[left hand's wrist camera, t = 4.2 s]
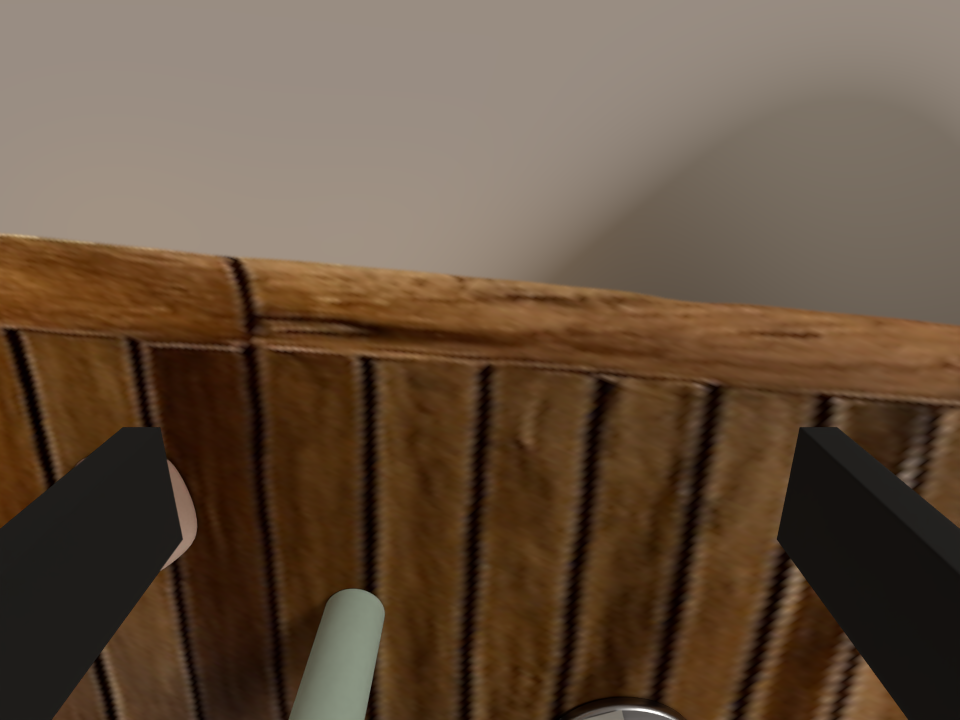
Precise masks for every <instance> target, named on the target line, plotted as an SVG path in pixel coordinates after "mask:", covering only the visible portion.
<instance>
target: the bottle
mask: <svg viewBox="0 0 960 720" xmlns="http://www.w3.org/2000/svg"><path fill="white" fill-rule="evenodd" d="M384 617H385V611H384V607H383V605H382V603H381V602H380V600H379V599H378V598H377V597H376V596H374V595H373V594H371V593H369V592H367V591H364V590H360V589H346V590H342V591H339V592H337V593H336V594H334V595H333V596H332V597H331V598H330V599H329V600H328V602H327V604H326V607H325V610H324V613H323V616H322V619H321V622H320V625H319V628H318V631H317V634H316V637H315V641H314V644H313V647H312V650H311V653H310V656H309V659H308V662H307V665H306V668H305V671H304V674H303V677H302V680H301V684H300V687H299V690H298V693H297V696H296V699H295V702H294V705H293V708H292V711H291V714H290V717H289V720H364V719H365V714H366V709H367V704H368V698H369V693H370V688H371V683H372V678H373V673H374V668H375V663H376V658H377V653H378V648H379V643H380V638H381V632H382V627H383V622H384Z"/></svg>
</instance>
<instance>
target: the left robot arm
mask: <svg viewBox="0 0 960 720" xmlns="http://www.w3.org/2000/svg"><path fill="white" fill-rule="evenodd" d="M182 540H183V536H182V531H181V527H180V522H179V517H178V512H177V507H176V502H175V497H174V492H173V487H172V482H171V478H170V473H169V468H168V463H167V458H166V453H165V448H164V443H163V438H162V434H161V429H160V427H123V428H121V429H120V430H119V431H118V432H117V433H115V434H114V435H113V436H112V437H111V438H109V439H108V440H107V441H106V442H105V443H103V444H102V445H101V446H100V447H99V448H97V449H96V450H95V451H94V452H92V453H91V454H90V455H89V456H88V457H86V458H85V459H84V460H83V461H82V462H80V463H79V464H78V465H77V466H76V467H74V468H73V469H72V470H71V471H69V472H68V473H67V474H66V475H65V476H63V477H62V478H61V479H60V480H59V481H57V482H56V483H55V484H54V485H53V486H51V487H50V488H49V489H48V490H47V491H45V492H44V493H43V494H42V495H40V496H39V497H38V498H37V499H36V500H34V501H33V502H32V503H31V504H30V505H28V506H27V507H26V508H25V509H24V510H22V511H21V512H20V513H19V514H18V515H16V516H15V517H14V518H13V519H11V520H10V521H9V522H8V523H7V524H5V525H4V526H3V527H2V528H1V529H0V720H52V719H53V717H54V716H55V714H56V713H57V712H58V710H59V709H60V708H61V706H62V705H63V703H64V702H65V701H66V699H67V698H68V697H69V695H70V694H71V692H72V691H73V690H74V688H75V687H76V686H77V684H78V683H79V682H80V680H81V679H82V677H83V676H84V675H85V673H86V672H87V671H88V669H89V668H90V666H91V665H92V664H93V662H94V661H95V660H96V658H97V657H98V655H99V654H100V653H101V651H102V650H103V649H104V647H105V646H106V644H107V643H108V642H109V640H110V639H111V638H112V636H113V635H114V633H115V632H116V631H117V629H118V628H119V627H120V625H121V624H122V623H123V621H124V620H125V618H126V617H127V616H128V614H129V613H130V612H131V610H132V609H133V607H134V606H135V605H136V603H137V602H138V601H139V599H140V598H141V596H142V595H143V594H144V592H145V591H146V590H147V588H148V587H149V585H150V584H151V583H152V581H153V580H154V579H155V577H156V576H157V574H158V573H159V572H160V570H161V569H162V568H163V566H164V565H165V564H166V562H167V561H168V559H169V558H170V557H171V555H172V554H173V553H174V551H175V550H176V548H177V547H178V546H179V544H180V543H181V542H182ZM777 540H778V542H779V543H780V544H781V546H782V547H783V548H784V550H785V551H786V553H787V554H788V555H789V557H790V558H791V559H792V561H793V562H794V564H795V565H796V566H797V568H798V569H799V570H800V572H801V573H802V574H803V576H804V577H805V579H806V580H807V581H808V583H809V584H810V585H811V587H812V588H813V590H814V591H815V592H816V594H817V595H818V596H819V598H820V599H821V601H822V602H823V603H824V605H825V606H826V607H827V609H828V610H829V612H830V613H831V614H832V616H833V617H834V618H835V620H836V621H837V623H838V624H839V625H840V627H841V628H842V629H843V631H844V632H845V633H846V635H847V636H848V638H849V639H850V640H851V642H852V643H853V644H854V646H855V647H856V649H857V650H858V651H859V653H860V654H861V655H862V657H863V658H864V660H865V661H866V662H867V664H868V665H869V666H870V668H871V669H872V671H873V672H874V673H875V675H876V676H877V677H878V679H879V680H880V682H881V683H882V684H883V686H884V687H885V688H886V690H887V691H888V692H889V694H890V695H891V697H892V698H893V699H894V701H895V702H896V703H897V705H898V706H899V708H900V709H901V710H902V712H903V713H904V714H905V716H906V717H907V719H908V720H960V529H959V528H958V527H957V526H956V525H955V524H953V523H952V522H951V521H950V520H949V519H947V518H946V517H945V516H944V515H942V514H941V513H940V512H939V511H938V510H936V509H935V508H934V507H933V506H932V505H930V504H929V503H928V502H927V501H926V500H924V499H923V498H922V497H921V496H920V495H918V494H917V493H916V492H915V491H913V490H912V489H911V488H910V487H909V486H907V485H906V484H905V483H904V482H903V481H901V480H900V479H899V478H898V477H897V476H895V475H894V474H893V473H892V472H891V471H889V470H888V469H887V468H886V467H884V466H883V465H882V464H881V463H880V462H878V461H877V460H876V459H875V458H874V457H872V456H871V455H870V454H869V453H868V452H866V451H865V450H864V449H863V448H861V447H860V446H859V445H858V444H857V443H855V442H854V441H853V440H852V439H851V438H849V437H848V436H847V435H846V434H845V433H843V432H842V431H841V430H840V429H839V428H837V427H800V429H799V434H798V438H797V443H796V448H795V453H794V458H793V463H792V468H791V473H790V478H789V482H788V487H787V492H786V497H785V502H784V507H783V512H782V517H781V522H780V527H779V531H778V536H777ZM559 720H686V719H685V718H684V717H683V716H682V715H681V714H679V713H678V712H677V711H675V710H673V709H672V708H670V707H668V706H666V705H664V704H661V703H658V702H655V701H652V700H648V699H642V698H634V697H616V698H608V699H602V700H598V701H594V702H591V703H588V704H585V705H583V706H580V707H578V708H576V709H574V710H572V711H571V712H569V713H567V714H566V715H564V716H563V717H562V718H561V719H559Z"/></svg>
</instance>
